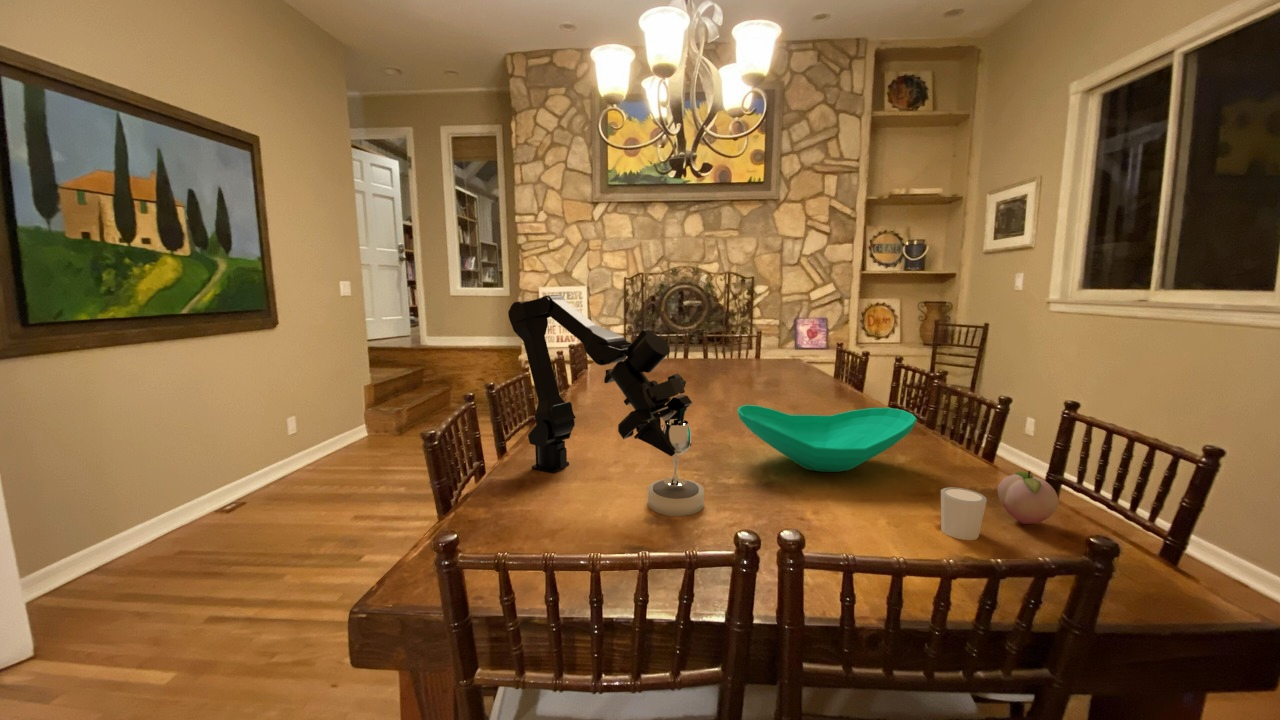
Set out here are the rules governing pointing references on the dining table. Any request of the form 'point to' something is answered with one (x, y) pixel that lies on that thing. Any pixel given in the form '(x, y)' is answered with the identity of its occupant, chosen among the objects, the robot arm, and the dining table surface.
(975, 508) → the white cup
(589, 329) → the robot arm
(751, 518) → the dining table surface
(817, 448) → the table top decor
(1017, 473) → the decorative fruit
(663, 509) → the disc
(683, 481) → the wineglass
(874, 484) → the dining table surface
